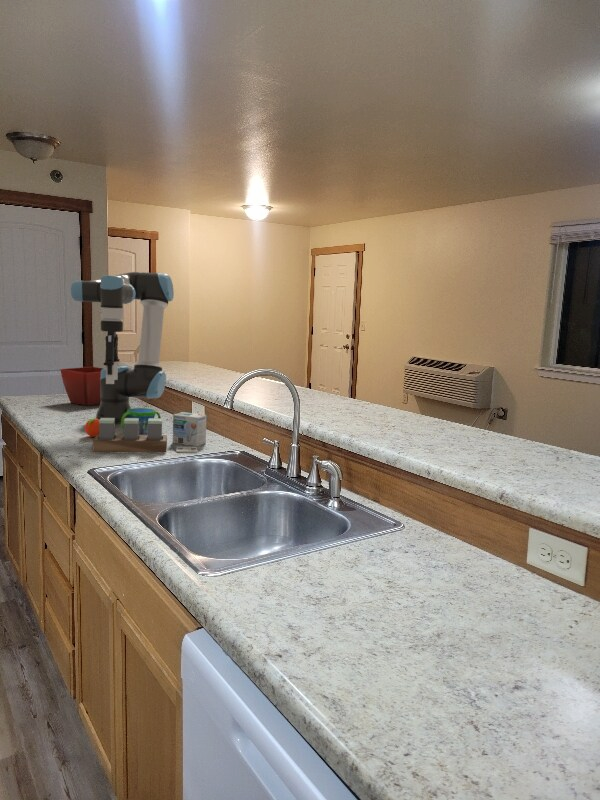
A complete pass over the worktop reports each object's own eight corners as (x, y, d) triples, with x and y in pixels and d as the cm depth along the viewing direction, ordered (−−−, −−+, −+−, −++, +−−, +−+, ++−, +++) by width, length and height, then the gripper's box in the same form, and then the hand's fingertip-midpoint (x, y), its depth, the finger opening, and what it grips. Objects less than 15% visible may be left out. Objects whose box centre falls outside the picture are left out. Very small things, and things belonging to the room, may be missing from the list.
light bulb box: (171, 443, 220) (172, 414, 219) (181, 439, 227) (182, 411, 225) (197, 446, 217) (198, 417, 215) (206, 443, 223) (207, 414, 221)
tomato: (96, 440, 219) (96, 421, 218) (79, 438, 220) (79, 419, 219) (107, 435, 227) (107, 417, 226) (91, 434, 228) (91, 415, 227)
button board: (97, 445, 211) (97, 434, 210) (166, 445, 215) (167, 435, 215) (92, 452, 201) (92, 440, 200) (166, 452, 206) (166, 441, 205)
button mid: (124, 437, 209) (125, 418, 208) (138, 437, 210) (138, 418, 209) (123, 440, 205) (123, 420, 204) (137, 440, 206) (137, 420, 205)
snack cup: (156, 432, 237) (156, 406, 236) (165, 437, 229) (166, 411, 227) (116, 435, 229) (116, 408, 227) (125, 440, 220) (125, 413, 219)
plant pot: (85, 408, 283) (84, 372, 280) (59, 403, 293) (59, 368, 290) (117, 403, 299) (117, 370, 296) (92, 399, 309) (92, 366, 306)
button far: (148, 437, 211) (148, 418, 210) (161, 438, 212) (162, 418, 211) (147, 440, 206) (147, 420, 205) (161, 440, 207) (161, 421, 206)
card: (176, 448, 212) (176, 446, 212) (196, 448, 213) (196, 446, 213) (176, 452, 206) (176, 450, 206) (197, 452, 208) (197, 450, 207)
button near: (101, 437, 208) (101, 417, 207) (114, 437, 209) (114, 417, 208) (99, 440, 203) (99, 420, 202) (113, 440, 204) (113, 420, 203)
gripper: (104, 318, 222) (104, 377, 225) (96, 320, 199) (96, 385, 203) (125, 319, 224) (125, 377, 227) (119, 321, 201) (119, 386, 204)
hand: (111, 381), depth 215 cm, fingers open, 11 cm apart
